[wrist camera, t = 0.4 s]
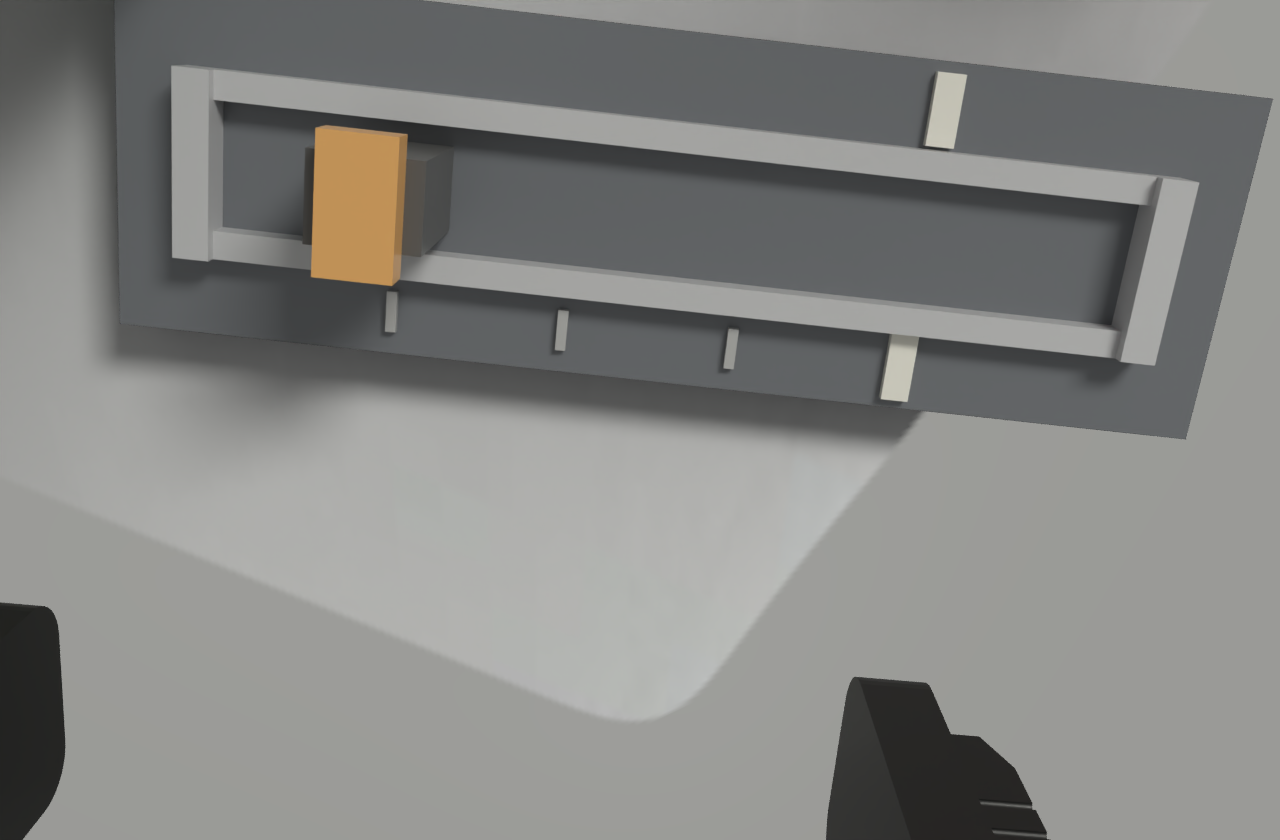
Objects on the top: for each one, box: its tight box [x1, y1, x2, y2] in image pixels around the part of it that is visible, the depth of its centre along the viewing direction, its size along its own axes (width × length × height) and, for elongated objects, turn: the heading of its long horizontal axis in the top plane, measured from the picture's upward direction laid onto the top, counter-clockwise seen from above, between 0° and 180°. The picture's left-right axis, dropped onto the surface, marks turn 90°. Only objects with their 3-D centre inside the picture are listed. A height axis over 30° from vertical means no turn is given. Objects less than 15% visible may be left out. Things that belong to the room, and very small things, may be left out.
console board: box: [114, 0, 1273, 439], centre depth 35 cm, size 10×32×3 cm, turn 84°
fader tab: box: [302, 125, 454, 286], centre depth 32 cm, size 4×3×5 cm
